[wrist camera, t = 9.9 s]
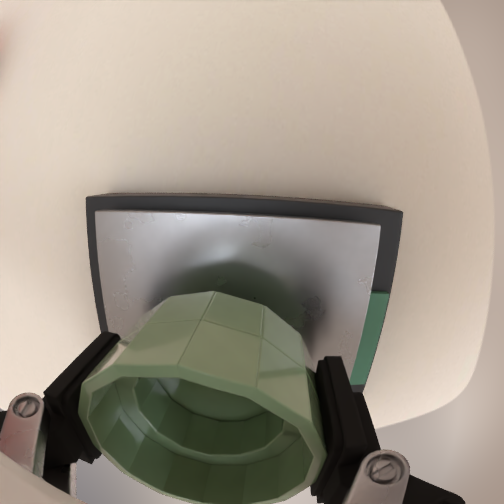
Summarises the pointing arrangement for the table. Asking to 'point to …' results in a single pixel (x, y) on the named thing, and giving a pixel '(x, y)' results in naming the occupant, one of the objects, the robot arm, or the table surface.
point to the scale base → (273, 206)
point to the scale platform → (243, 268)
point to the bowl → (209, 403)
